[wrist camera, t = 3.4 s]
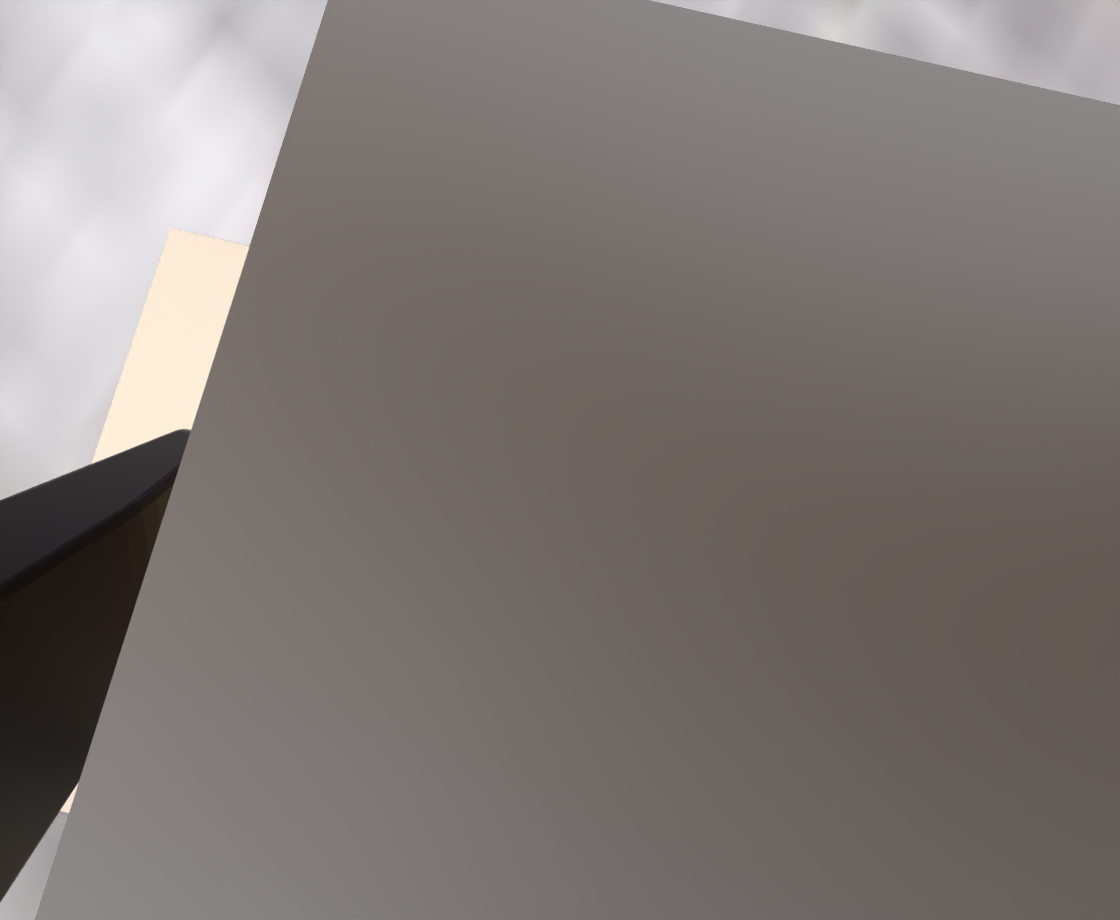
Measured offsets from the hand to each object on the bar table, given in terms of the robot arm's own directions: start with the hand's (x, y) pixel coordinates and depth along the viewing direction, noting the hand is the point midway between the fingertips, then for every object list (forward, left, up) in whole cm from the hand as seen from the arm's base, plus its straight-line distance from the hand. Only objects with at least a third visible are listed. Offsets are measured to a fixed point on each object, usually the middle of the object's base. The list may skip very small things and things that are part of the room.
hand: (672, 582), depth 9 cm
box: (0, 0, -7) cm, 7 cm away
